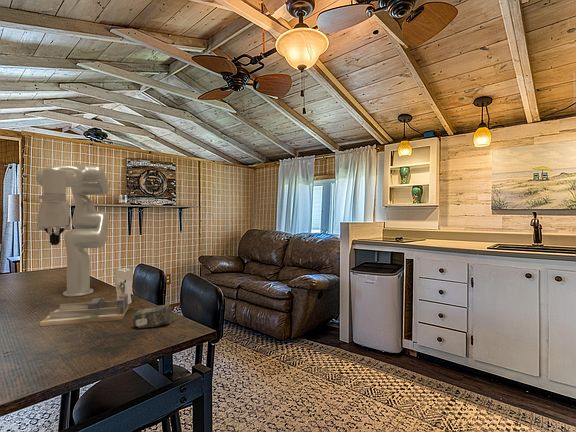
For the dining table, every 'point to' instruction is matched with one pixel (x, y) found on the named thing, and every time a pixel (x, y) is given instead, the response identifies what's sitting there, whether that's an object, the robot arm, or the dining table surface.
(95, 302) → the slider
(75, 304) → the gauge board
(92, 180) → the robot arm
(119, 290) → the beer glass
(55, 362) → the dining table surface
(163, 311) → the stone
